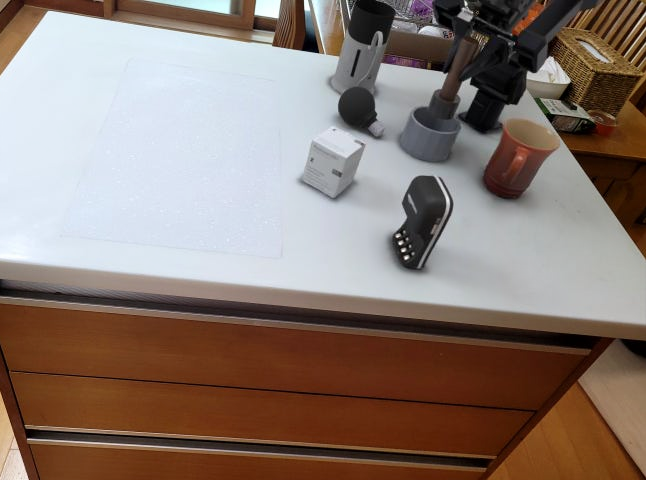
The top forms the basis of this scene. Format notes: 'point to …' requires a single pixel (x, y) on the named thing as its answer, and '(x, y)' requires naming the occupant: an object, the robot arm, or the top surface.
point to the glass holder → (363, 45)
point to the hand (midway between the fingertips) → (451, 76)
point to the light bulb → (360, 109)
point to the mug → (518, 157)
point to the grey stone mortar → (429, 135)
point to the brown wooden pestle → (453, 81)
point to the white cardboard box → (333, 161)
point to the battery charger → (422, 219)
